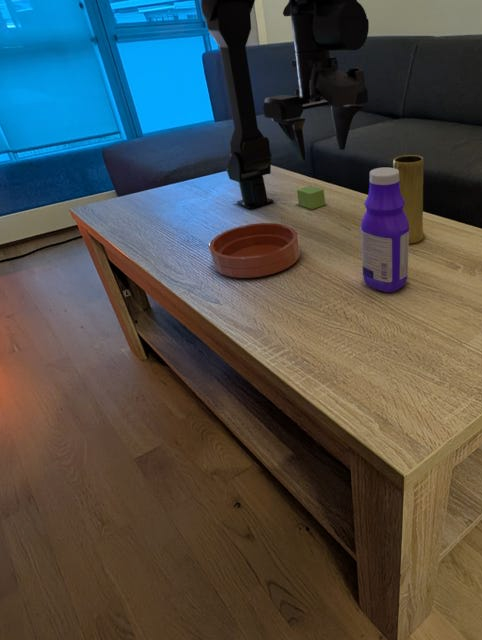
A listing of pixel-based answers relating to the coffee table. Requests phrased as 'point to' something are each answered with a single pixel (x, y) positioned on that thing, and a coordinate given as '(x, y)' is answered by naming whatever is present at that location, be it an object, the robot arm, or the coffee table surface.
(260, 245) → the bowl
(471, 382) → the coffee table surface
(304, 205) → the sponge
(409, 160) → the vase
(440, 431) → the coffee table surface
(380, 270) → the bottle
